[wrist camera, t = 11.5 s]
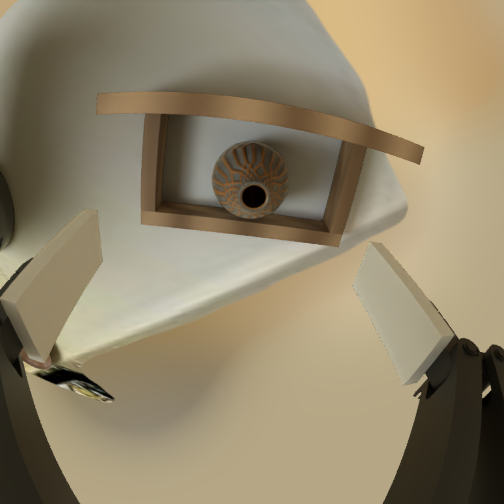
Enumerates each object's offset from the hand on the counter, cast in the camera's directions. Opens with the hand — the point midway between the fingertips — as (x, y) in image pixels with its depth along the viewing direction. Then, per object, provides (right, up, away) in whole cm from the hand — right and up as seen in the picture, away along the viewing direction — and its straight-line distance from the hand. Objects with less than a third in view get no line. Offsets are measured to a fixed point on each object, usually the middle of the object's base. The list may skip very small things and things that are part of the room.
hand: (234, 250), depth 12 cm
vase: (+1, +8, +15) cm, 17 cm away
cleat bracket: (+1, +9, +15) cm, 17 cm away
